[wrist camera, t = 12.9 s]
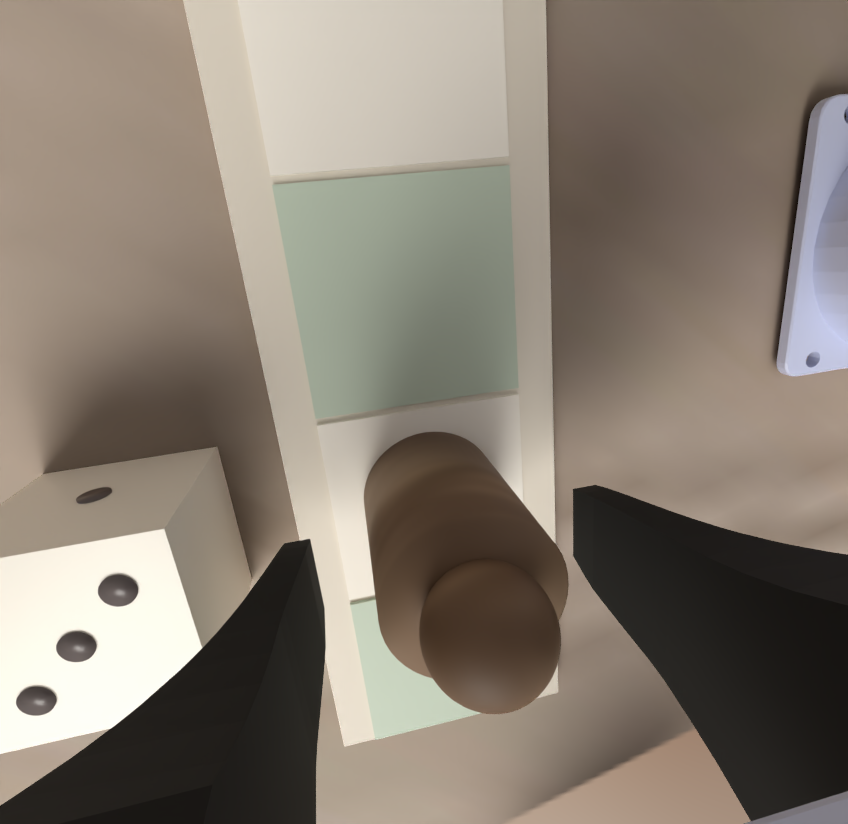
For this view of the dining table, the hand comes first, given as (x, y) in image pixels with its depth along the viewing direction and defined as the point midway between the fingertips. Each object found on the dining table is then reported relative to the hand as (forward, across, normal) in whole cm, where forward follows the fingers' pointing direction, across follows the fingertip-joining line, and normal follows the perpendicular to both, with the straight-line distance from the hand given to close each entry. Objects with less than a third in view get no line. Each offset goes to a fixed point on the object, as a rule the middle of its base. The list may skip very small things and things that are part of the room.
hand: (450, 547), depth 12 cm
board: (+3, 0, -3) cm, 4 cm away
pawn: (+2, 0, 0) cm, 3 cm away
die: (+3, +8, 0) cm, 9 cm away
